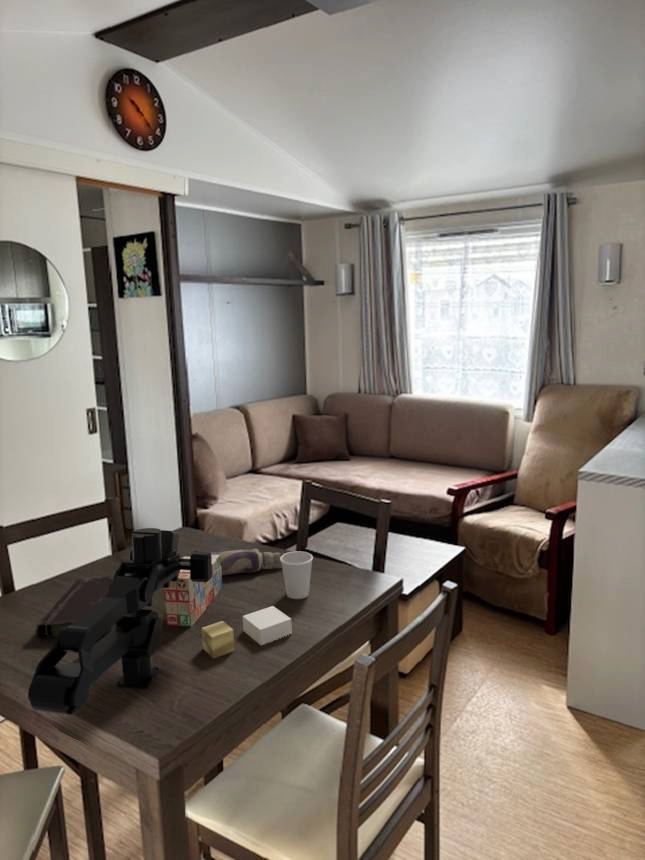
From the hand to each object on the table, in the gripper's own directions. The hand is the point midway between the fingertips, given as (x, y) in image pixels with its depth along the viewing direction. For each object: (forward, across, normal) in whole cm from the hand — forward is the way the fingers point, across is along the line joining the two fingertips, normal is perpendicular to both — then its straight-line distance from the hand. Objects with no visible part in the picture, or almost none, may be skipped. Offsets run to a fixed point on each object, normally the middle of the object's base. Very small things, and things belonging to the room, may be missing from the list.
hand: (186, 554), depth 149 cm
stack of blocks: (+8, +2, +16) cm, 18 cm away
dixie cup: (+18, -22, +15) cm, 32 cm away
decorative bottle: (+28, -2, +14) cm, 32 cm away
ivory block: (-2, -20, +17) cm, 26 cm away
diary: (0, +24, +17) cm, 30 cm away
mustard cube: (-11, -12, +17) cm, 24 cm away
